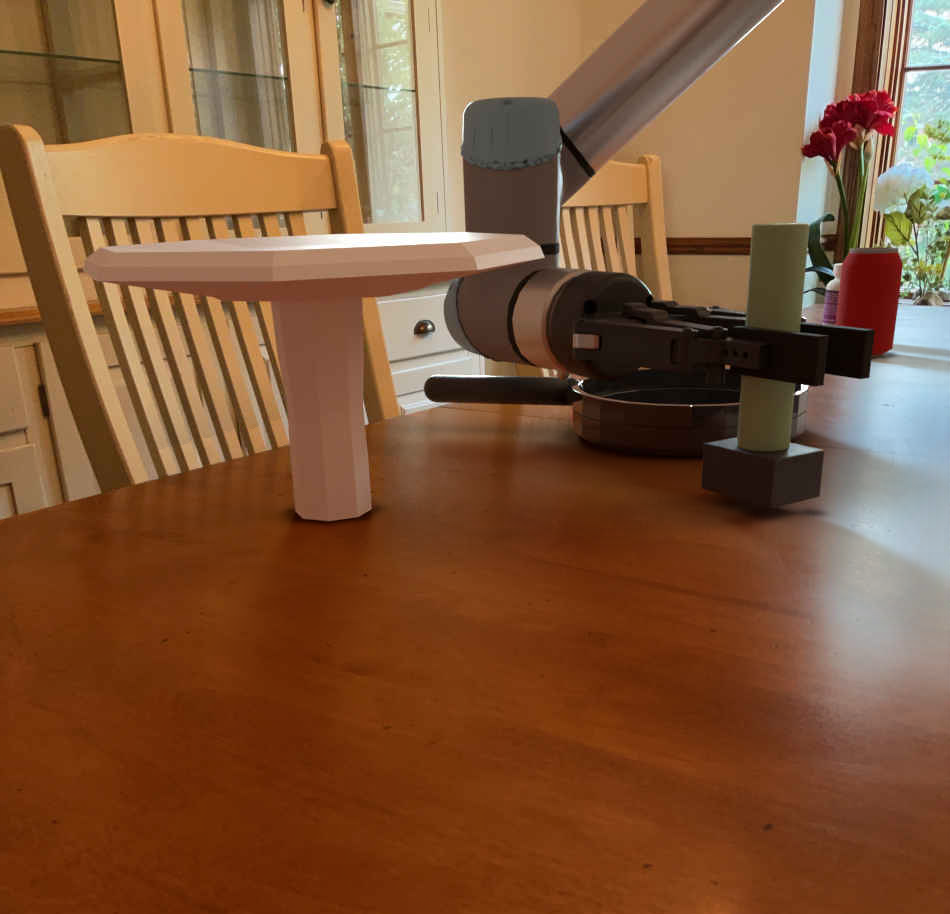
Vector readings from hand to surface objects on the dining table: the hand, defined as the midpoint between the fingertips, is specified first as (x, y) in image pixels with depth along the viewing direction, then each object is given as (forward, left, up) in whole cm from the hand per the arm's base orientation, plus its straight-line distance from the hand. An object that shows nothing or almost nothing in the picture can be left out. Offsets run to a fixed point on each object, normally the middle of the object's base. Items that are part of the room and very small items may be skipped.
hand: (844, 357), depth 59 cm
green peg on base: (+4, -4, -9) cm, 11 cm away
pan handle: (+27, -26, -8) cm, 38 cm away
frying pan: (+11, -26, -10) cm, 30 cm away
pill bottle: (-3, -86, -10) cm, 86 cm away
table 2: (+31, +2, -10) cm, 33 cm away
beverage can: (-5, -74, -10) cm, 74 cm away
